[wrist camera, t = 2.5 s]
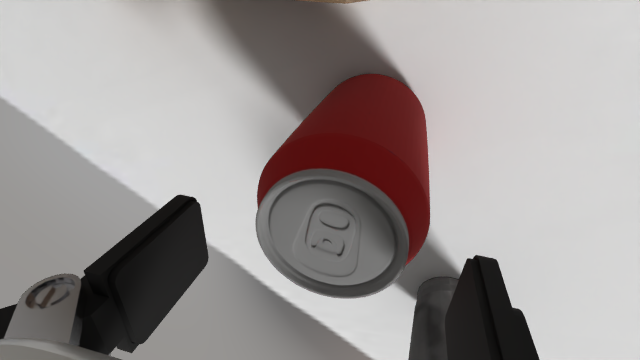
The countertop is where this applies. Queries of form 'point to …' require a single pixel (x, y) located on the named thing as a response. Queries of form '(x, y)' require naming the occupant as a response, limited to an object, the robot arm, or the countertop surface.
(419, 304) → the beverage cup
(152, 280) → the robot arm
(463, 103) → the countertop surface
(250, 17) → the countertop surface
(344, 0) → the walnut block
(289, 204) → the beverage can
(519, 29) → the countertop surface
